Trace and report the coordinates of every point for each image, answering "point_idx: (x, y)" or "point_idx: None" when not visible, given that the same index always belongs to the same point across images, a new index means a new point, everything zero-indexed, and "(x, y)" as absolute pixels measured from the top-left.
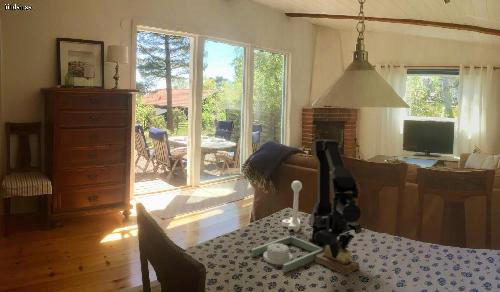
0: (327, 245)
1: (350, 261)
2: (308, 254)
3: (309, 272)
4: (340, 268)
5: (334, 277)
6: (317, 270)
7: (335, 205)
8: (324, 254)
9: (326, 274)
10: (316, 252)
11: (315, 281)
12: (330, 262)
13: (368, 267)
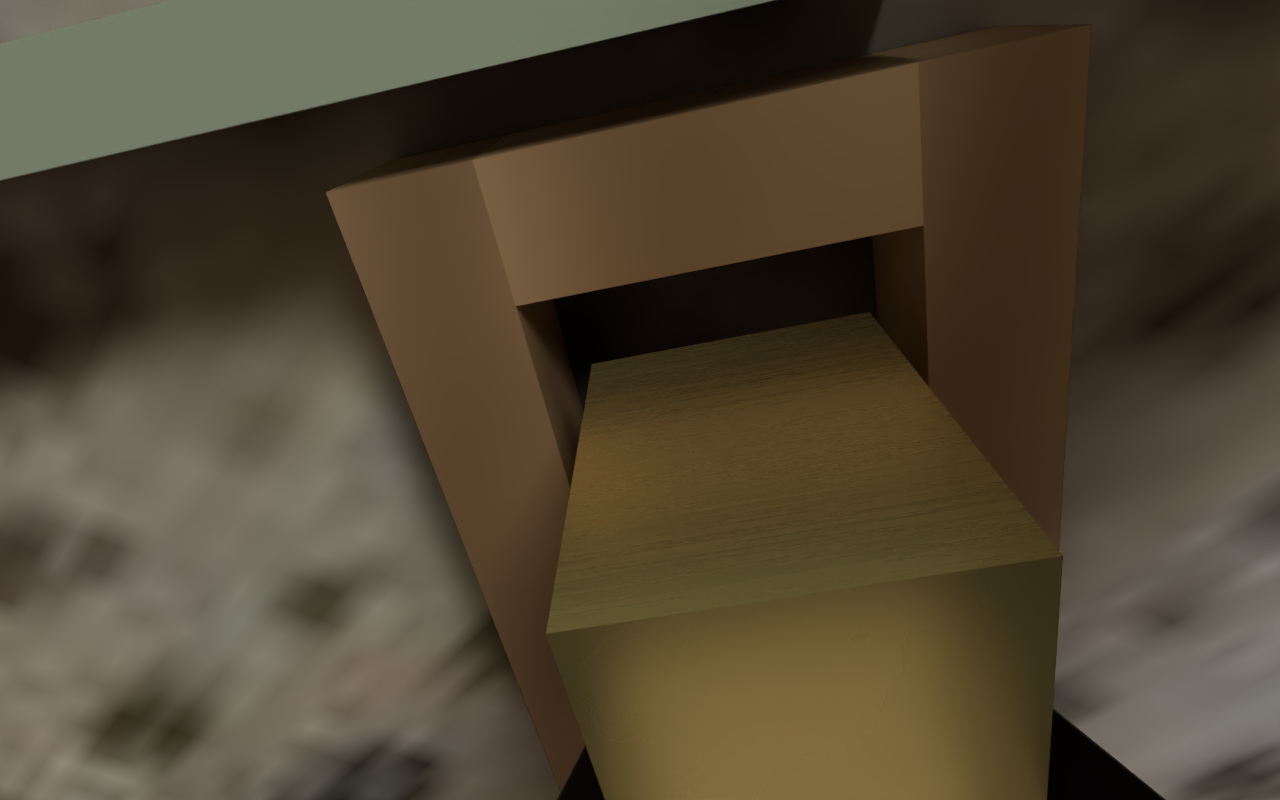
0: (634, 682)
1: None
2: (17, 79)
3: (6, 522)
4: None
5: (384, 784)
6: (213, 528)
7: None
8: (680, 255)
9: (308, 685)
10: (428, 78)
11: (9, 756)
12: (506, 650)
13: (1165, 789)
